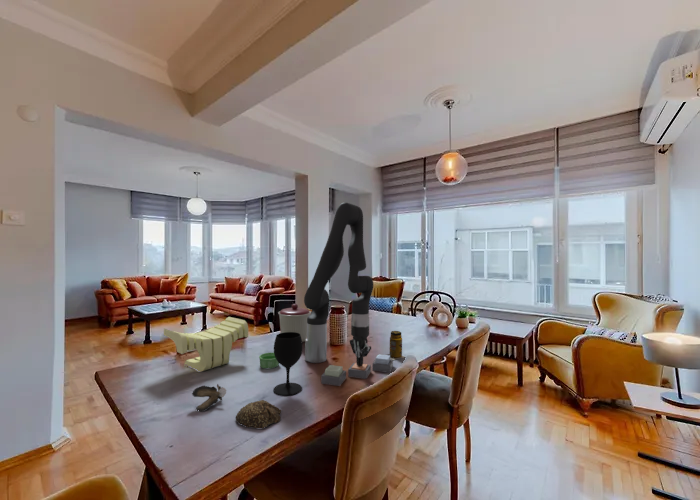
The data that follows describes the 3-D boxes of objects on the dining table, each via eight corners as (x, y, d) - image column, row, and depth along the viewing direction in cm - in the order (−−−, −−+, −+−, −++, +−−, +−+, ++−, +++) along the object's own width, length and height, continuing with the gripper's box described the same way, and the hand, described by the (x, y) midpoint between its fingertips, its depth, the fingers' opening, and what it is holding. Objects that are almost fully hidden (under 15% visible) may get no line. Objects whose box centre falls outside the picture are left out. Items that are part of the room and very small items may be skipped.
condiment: (405, 357, 150) (406, 332, 150) (392, 360, 145) (392, 335, 145) (395, 353, 156) (395, 329, 156) (382, 356, 151) (382, 331, 151)
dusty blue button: (375, 365, 134) (375, 358, 134) (378, 360, 139) (378, 354, 139) (388, 366, 132) (388, 359, 132) (390, 362, 137) (390, 355, 137)
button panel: (315, 378, 123) (315, 371, 123) (384, 362, 143) (384, 355, 143) (328, 389, 114) (328, 381, 114) (400, 369, 134) (400, 362, 134)
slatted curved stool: (181, 380, 120) (182, 334, 120) (163, 371, 130) (163, 328, 130) (247, 359, 145) (248, 321, 145) (228, 352, 154) (228, 316, 154)
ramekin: (272, 370, 132) (272, 360, 132) (254, 367, 135) (254, 357, 135) (283, 363, 140) (283, 353, 140) (266, 361, 143) (266, 351, 143)
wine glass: (273, 397, 107) (274, 340, 107) (272, 385, 117) (273, 332, 117) (303, 394, 110) (304, 338, 110) (300, 382, 120) (301, 330, 120)
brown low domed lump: (229, 420, 93) (230, 404, 93) (262, 404, 103) (262, 389, 103) (258, 435, 86) (258, 417, 86) (290, 416, 96) (290, 400, 96)
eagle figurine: (212, 392, 108) (187, 397, 101) (222, 377, 107) (198, 381, 100) (221, 410, 104) (196, 417, 97) (232, 394, 103) (207, 400, 96)
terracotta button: (351, 374, 127) (351, 367, 127) (355, 370, 132) (355, 362, 132) (364, 376, 125) (364, 369, 125) (367, 371, 131) (367, 364, 131)
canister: (300, 335, 186) (300, 300, 186) (316, 342, 172) (317, 304, 172) (272, 340, 175) (272, 303, 175) (287, 348, 161) (288, 308, 161)
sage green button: (324, 377, 120) (325, 369, 120) (329, 372, 125) (329, 364, 125) (338, 379, 119) (338, 371, 119) (342, 373, 124) (342, 366, 124)
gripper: (344, 321, 132) (343, 362, 132) (362, 328, 121) (361, 372, 121) (358, 319, 136) (358, 359, 136) (377, 326, 125) (376, 369, 125)
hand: (359, 365), depth 129 cm, fingers closed
